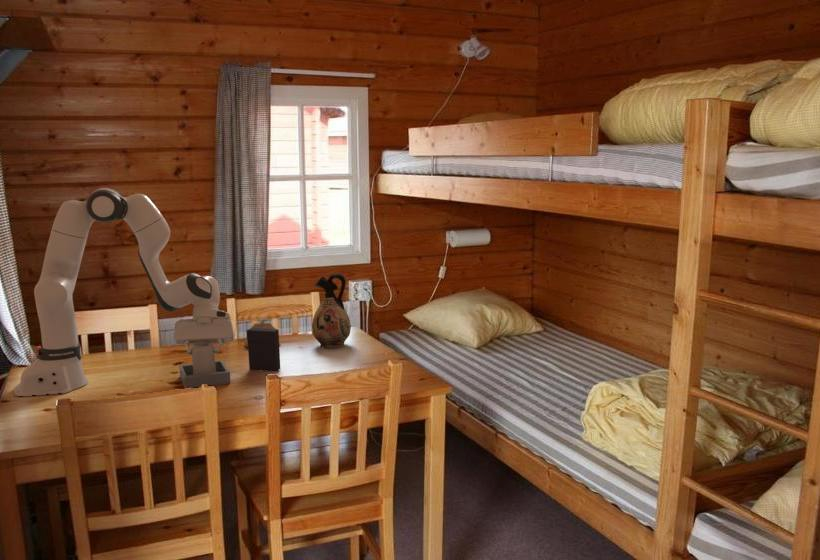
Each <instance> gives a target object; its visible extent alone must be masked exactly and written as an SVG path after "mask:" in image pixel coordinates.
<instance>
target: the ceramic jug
mask: <svg viewBox="0 0 820 560" xmlns="http://www.w3.org/2000/svg"><path fill="white" fill-rule="evenodd" d="M335 279H339V280H340V281H341V282H340V283H341V286H340V288H338V286H337V284H336V282H333V280H335ZM346 283H347V282H346V278H345V276H344V275H343V274H341V273H340V272H337V273H332V274H331V275H329V277H328V279H327V278H326V277H325V276H323V275H322V276H321V277H320V278H319V279H318V280H317V281H316V282H315V283H314V286H315V287H316V288H317V287H318V288H321V289H322V290H324V291H325V293H324V297H323V299H322V301H321V302H320V304H318V307H317V309H316V310H315V313H314V316H313V319H312V323H311V331H312V335H313V337H314V339H315V340H316V341H317V342H318V343H319V344H320V345H319V346H320V347H321V348H322V347H323V348H322V349H325V348H331V349H332V348H335V349H338V348H339V349H340V348H342V347H344V346H345V342H346V341H347V339H348V338H349V337H350V334H351V329H352V325H351V319H350V316H349V315H348V313H347V311H346V309H345V305H344V301H343V299H342V298H343V295H344V293H345V290H346ZM338 289H340V290H339V293H338V295H337V296H336V294H335V290H338ZM355 345H356V344H355ZM331 349H330V350H331Z"/></svg>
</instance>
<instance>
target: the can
mask: <svg viewBox="0 0 820 560" xmlns="http://www.w3.org/2000/svg"><path fill="white" fill-rule="evenodd" d="M192 346H193V347H191V348H192V354H191V356H192V358H191V360H192V364H193V374H194V376H195V375H203V374H211V373H216V369H215V361H216V356H215V355H216V353H214V347H215V346H214V345H213V343H211V342H198V343H195V344H193V345H192Z"/></svg>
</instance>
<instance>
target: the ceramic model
mask: <svg viewBox="0 0 820 560" xmlns="http://www.w3.org/2000/svg"><path fill="white" fill-rule="evenodd" d="M250 328H263V329H277V327H275V326H274V325H272V323H271V322H265V321H260V322H259V323H257V322H256V323H254V324H253V325H251V326H250ZM244 344H245V347H247V348H248V341H247V337H246V338H245V343H244ZM280 346H281V343H280V341H279V347H280Z"/></svg>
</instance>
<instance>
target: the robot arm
mask: <svg viewBox="0 0 820 560" xmlns="http://www.w3.org/2000/svg"><path fill="white" fill-rule="evenodd" d="M120 220H123V221H125V222H126V224H127V225H128V227H130V229H131V230H132V232H133V233H134V235H135V238H136V240H137V243H138V247H137V248H138V249H137V254H138V259H139V261H140V264H141V265H142V268H143V269H144V271H145V274H146V277H147V278H148V280H149V283H150V285H151V286H152V288H153V291H154V294H155V295H154V296H155V298H156V301H157V303H158V305H159V306H160V307H161V308H162V309H163V310H165V311H167V312H169V313H174V312H176V311H179V310H180V309H182V308H184V307H186V306H188V305H190V304H192V305H193V306H194V307H193V311H192V318H186V319H183V318H180V319H179V320H177V321H176V322H175V324H174V332H173V341H174V343H175V344H176V345H184V346H185V348H186V353H187V355H192V348H193V347H190V344H193V345H194V344H195V343H198V342H211V343H212V344H215V343H216V344H217V345H216V346H214V353H215V354H219V353H220V349H221V348H222V346H223V343H232V342H233V341H235V332H234V327H233V323H232V318H231V317H232V316H231V315H230V313H229V312H228V311H224V310H220V309H219V304H220V300H221V296H220V295H221V293H220V291H221V290H220V289H221V288H220V285H219V282H218V280H217V279H216V278H215V277H212V276H211V275H210V276H209V275H203V276H201V275H199V273H195V272H191V273H189V274H186V275H185V274H184V275H183V276H181V277H179V278H177V279H175V280H173V281H169V279H167V276H166V274H165V271H164V270H163V267H162V265H161V263H160V260H159V258H160V253H161V252H162V251H163V250H164V248H165V247H166V245H167V244H168V242H169V240H170V237H171V228H170V225H169V224H168V222H167V221H166V219H165V217H164V216H163V214H162V212H161V211H160V210H159V208H158V207H157V206H156V205H155V204H154V202H153V201H152V200H151V199H150V198H149V197H148V196H147V195H146V194H144V193H134V194H131V195H129V196H126V197H124V196H122V195H121V193H120V192H119V191H117V190H116V189H115V188H112V187H100V188H99V187H98V188H97V189H95V190H94V191H92V192H91V193H90V194H89V196H88V197H87V198H86V199H85V200H84V201H83V200H82V201H80V200H76V199H70V200H66V201H64V202H62V203H61V205H60V207H59V209H58V211H57V213H56V215H55V218H54V221H53V224H52V227H51V231H50V235H49V239H48V242H47V246H46V249H45V254H44V260H43V263H42V269H41V273H40V277H39V280H38V282H37V283H36V284H35V287H34V289H33V291H34V292H33V293H34V294H33V295H34V300H35V306H36V312H37V317H38V321H39V327H40V328H39V329H40V336H41V344H42V346H41V345H38V346H36V347H35V352H36V354H35V355H36V359H35V360H34V361H33V362H32V363H30V364H29V365H28V366H27V367H26V368H25V369H23V371H22V373H21V375H20V381H19V383H18V384H17V385H15V386H14V389H13V395H14V394H15V395H17V396H16V397H18V396H23V397H33V396H32V395H36V396H47V395H46V394H49V395H59V394H58V393H62V394H68V393H70V392H71V391H74V390H76V389H79V388H82V387H83V386H85V385H87V384H88V382H89V381H88V379H87V377H86V374H85V371H84V368H83V363H82V347H81V343H80V342H79V335H78V333H79V332H78V324H77V318H76V313H75V306H74V300H73V293H74V291H75V287H76V285H77V284H76V283H77V279H78V276H79V272H80V267H81V263H82V259H83V257H84V256H83V255H84V251H85V249H86V248H85V247H86V245H87V241H88V237H89V232H90V229H91V227H92V225H93V223H94V222H96V221H97V222H99V223H111V222H115V221H120ZM15 395H14V396H15Z"/></svg>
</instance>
